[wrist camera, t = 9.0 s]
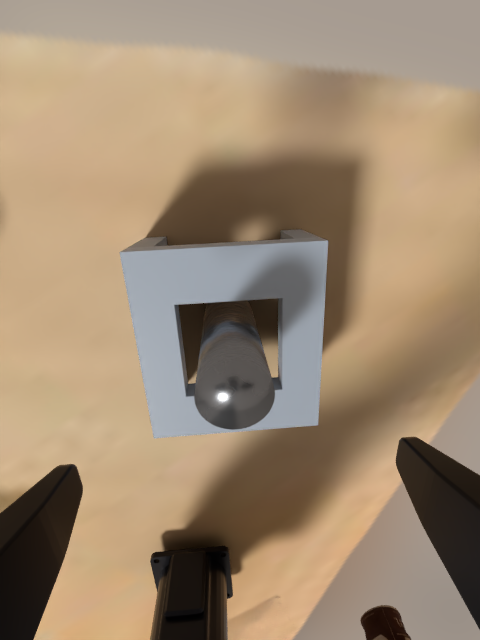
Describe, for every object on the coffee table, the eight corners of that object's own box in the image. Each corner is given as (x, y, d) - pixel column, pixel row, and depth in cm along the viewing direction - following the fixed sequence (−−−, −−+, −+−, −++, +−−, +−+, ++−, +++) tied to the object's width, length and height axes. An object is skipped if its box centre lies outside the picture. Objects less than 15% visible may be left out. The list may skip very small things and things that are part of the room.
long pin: (252, 333, 21) (275, 426, 12) (206, 336, 21) (198, 432, 12) (251, 289, 20) (274, 358, 11) (202, 292, 20) (190, 364, 11)
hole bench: (297, 377, 22) (317, 425, 18) (167, 386, 22) (153, 438, 17) (300, 229, 18) (328, 240, 14) (145, 237, 18) (119, 252, 13)
